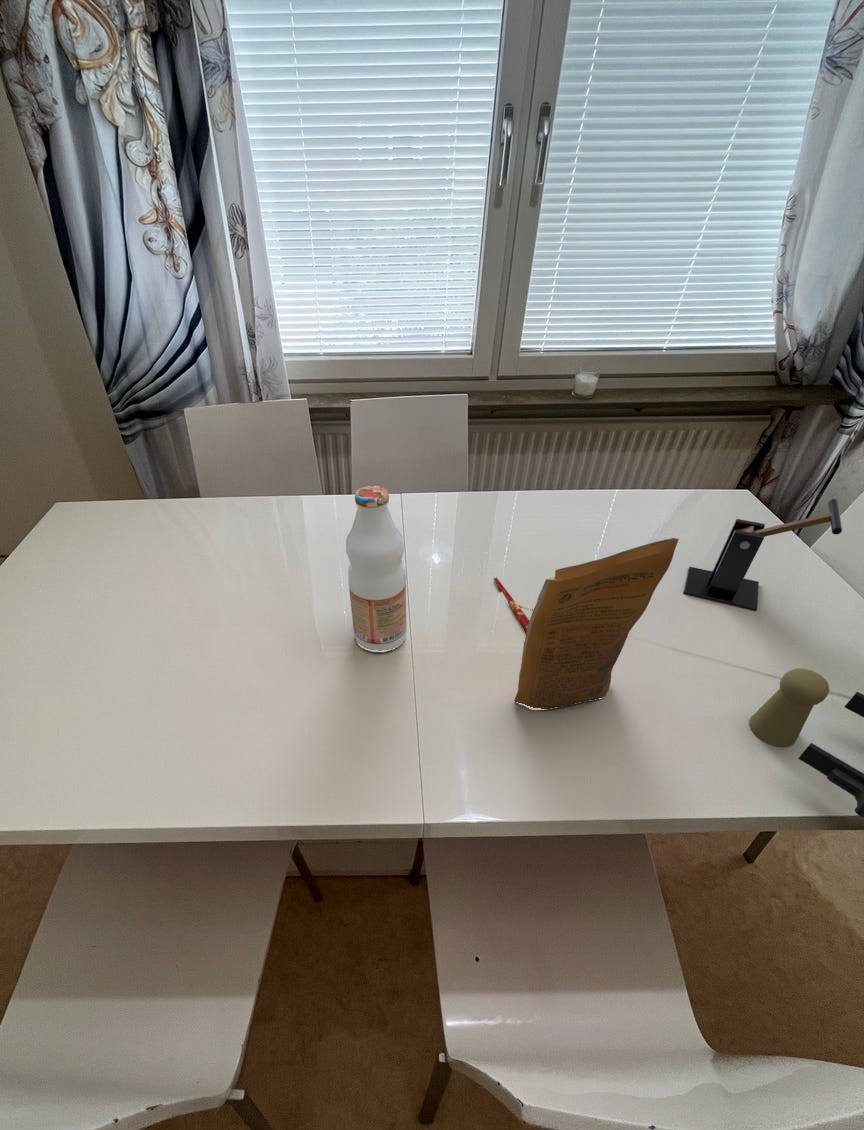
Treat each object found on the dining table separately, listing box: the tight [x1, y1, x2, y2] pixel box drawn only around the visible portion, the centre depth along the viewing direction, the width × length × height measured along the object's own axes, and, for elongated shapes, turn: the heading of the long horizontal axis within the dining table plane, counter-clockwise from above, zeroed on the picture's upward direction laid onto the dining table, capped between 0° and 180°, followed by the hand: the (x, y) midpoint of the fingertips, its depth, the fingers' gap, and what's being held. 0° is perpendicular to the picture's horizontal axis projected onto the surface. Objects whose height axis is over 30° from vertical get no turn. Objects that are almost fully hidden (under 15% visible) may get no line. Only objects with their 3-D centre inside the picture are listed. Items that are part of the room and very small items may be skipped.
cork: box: [748, 667, 830, 748], centre depth 73 cm, size 6×6×11 cm
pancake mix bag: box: [513, 537, 680, 709], centre depth 74 cm, size 7×19×28 cm, turn 102°
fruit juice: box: [345, 485, 408, 651], centre depth 86 cm, size 9×9×28 cm
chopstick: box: [493, 577, 530, 632], centre depth 97 cm, size 2×24×1 cm, turn 15°
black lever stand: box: [683, 518, 766, 612], centre depth 96 cm, size 12×9×14 cm
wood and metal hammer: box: [739, 498, 843, 538], centre depth 89 cm, size 14×10×2 cm
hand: (828, 723), depth 70 cm, fingers open, 13 cm apart
